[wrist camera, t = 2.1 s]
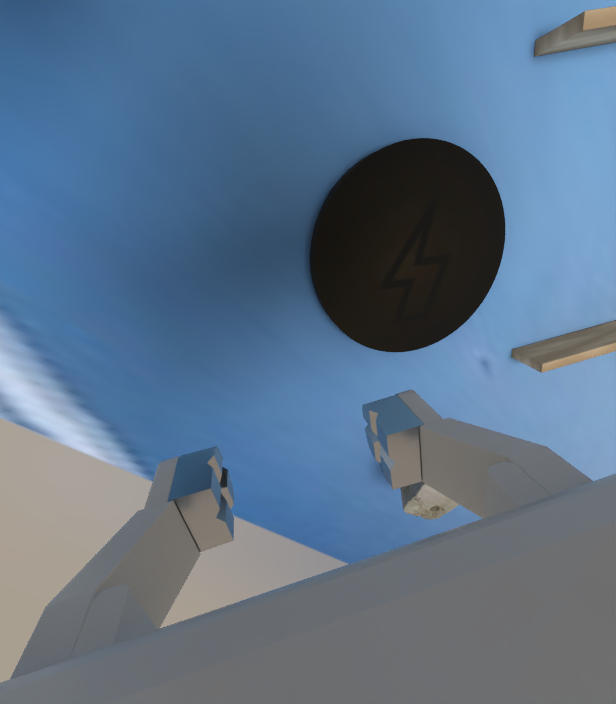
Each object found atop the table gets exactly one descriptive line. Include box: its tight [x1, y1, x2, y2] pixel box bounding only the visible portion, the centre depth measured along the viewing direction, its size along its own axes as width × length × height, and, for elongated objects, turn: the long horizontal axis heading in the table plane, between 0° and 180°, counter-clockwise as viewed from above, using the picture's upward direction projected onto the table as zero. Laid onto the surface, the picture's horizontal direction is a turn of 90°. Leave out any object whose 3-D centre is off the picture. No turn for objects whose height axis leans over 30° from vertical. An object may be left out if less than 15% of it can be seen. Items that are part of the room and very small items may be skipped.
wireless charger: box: [310, 138, 505, 352], centre depth 29 cm, size 18×18×2 cm
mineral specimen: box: [400, 481, 459, 519], centre depth 36 cm, size 7×9×8 cm
